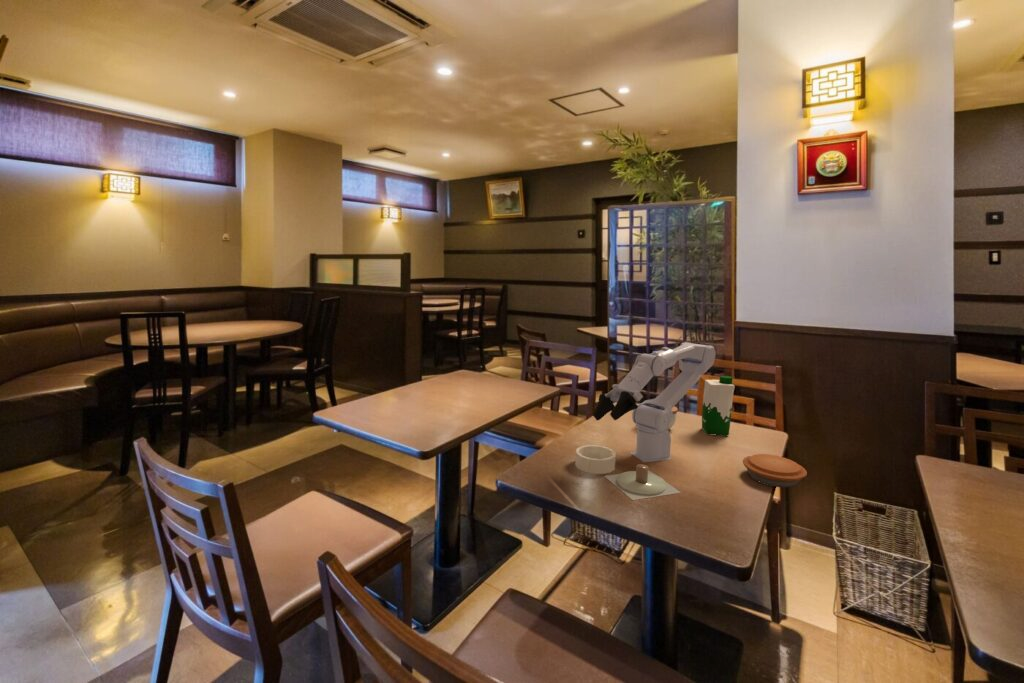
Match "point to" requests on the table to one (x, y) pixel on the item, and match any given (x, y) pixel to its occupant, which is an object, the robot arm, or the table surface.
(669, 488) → the mat
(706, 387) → the milk carton
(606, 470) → the bowl
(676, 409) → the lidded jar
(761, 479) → the pie
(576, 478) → the table surface
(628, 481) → the lid
